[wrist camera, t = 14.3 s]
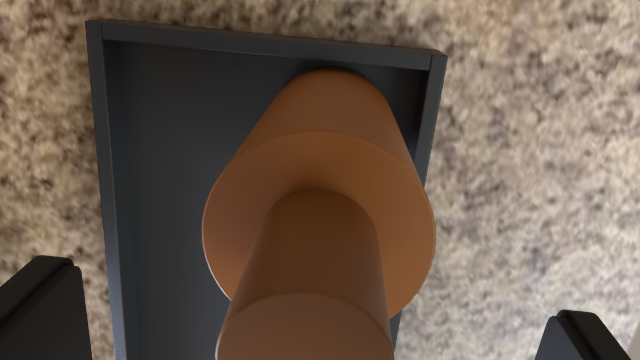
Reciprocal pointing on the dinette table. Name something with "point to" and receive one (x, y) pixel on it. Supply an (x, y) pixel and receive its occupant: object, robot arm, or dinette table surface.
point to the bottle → (318, 226)
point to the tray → (205, 156)
